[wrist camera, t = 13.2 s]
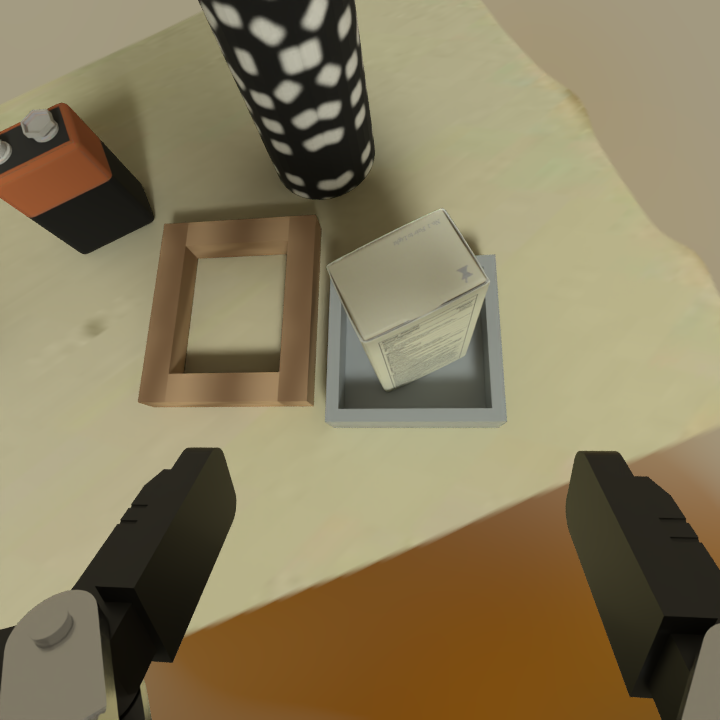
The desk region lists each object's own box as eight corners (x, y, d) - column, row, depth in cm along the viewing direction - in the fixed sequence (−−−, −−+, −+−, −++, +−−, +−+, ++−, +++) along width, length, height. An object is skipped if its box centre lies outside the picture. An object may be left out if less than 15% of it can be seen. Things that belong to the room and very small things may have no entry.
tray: (334, 427, 31) (324, 421, 28) (338, 281, 34) (331, 262, 31) (498, 427, 30) (506, 421, 27) (488, 274, 33) (495, 254, 30)
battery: (157, 222, 38) (68, 133, 28) (84, 258, 38) (-30, 181, 28) (143, 183, 39) (53, 85, 29) (72, 218, 39) (-41, 131, 29)
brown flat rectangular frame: (154, 407, 33) (137, 402, 31) (177, 237, 37) (164, 224, 35) (313, 406, 32) (306, 400, 30) (321, 229, 35) (315, 214, 34)
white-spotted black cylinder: (347, 213, 36) (261, -104, 16) (258, 181, 37) (89, -136, 18) (391, 130, 37) (361, -248, 18) (304, 103, 39) (193, -264, 20)
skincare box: (437, 304, 32) (447, 200, 20) (468, 358, 31) (497, 280, 19) (357, 342, 32) (321, 260, 20) (384, 398, 31) (362, 345, 19)
